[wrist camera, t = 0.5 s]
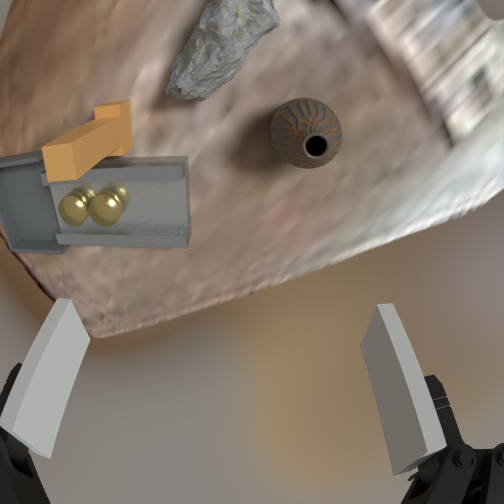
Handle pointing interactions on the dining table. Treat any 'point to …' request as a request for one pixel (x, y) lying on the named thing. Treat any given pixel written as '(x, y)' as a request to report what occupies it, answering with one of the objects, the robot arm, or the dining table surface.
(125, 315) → the dining table surface
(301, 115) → the vase
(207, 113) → the dining table surface
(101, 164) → the slot rail
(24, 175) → the tray
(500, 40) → the dining table surface
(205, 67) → the mineral specimen
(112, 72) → the dining table surface
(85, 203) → the gold domed disc
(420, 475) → the robot arm
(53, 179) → the orange l-shaped bar
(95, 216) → the gold domed disc
